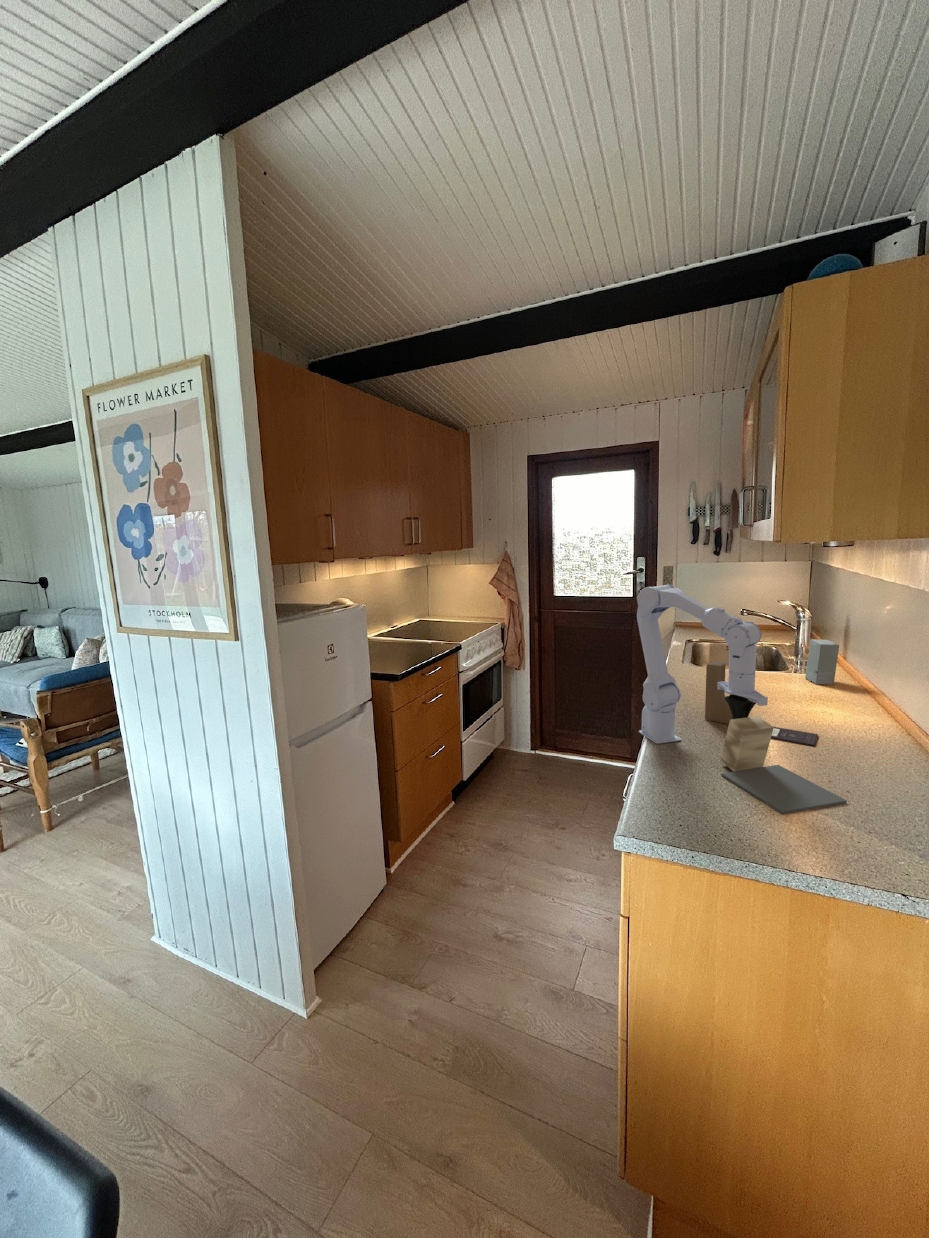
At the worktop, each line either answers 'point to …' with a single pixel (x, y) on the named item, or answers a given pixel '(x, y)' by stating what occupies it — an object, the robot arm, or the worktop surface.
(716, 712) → the wooden block
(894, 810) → the worktop surface
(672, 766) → the worktop surface
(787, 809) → the mat
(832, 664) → the skincare box
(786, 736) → the chocolate bar
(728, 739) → the birch block
